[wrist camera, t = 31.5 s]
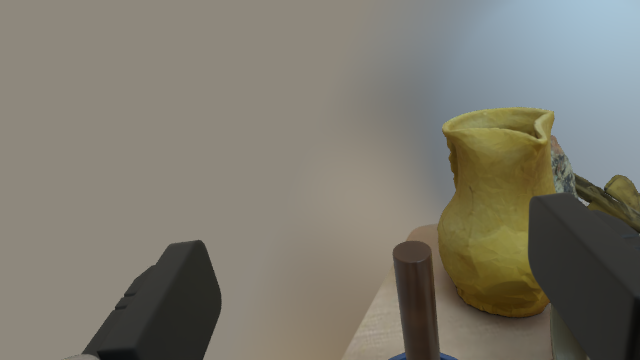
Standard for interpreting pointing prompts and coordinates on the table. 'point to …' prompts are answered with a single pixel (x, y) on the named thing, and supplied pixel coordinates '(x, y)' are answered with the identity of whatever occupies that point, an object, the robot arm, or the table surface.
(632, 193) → the missile
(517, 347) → the table surface
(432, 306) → the stirring stick
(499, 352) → the table surface
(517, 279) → the pitcher
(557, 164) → the rock
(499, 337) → the table surface
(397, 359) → the bowl
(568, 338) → the planter
